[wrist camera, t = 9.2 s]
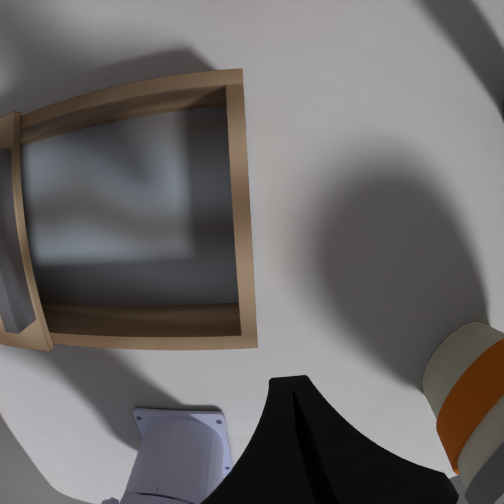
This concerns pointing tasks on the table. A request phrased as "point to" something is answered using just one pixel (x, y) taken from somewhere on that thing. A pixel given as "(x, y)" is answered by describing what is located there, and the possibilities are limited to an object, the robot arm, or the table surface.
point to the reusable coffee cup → (471, 407)
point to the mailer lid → (16, 252)
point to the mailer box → (143, 215)
